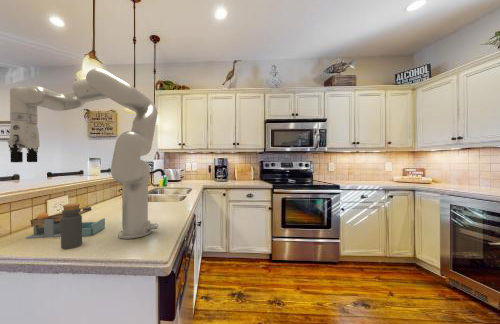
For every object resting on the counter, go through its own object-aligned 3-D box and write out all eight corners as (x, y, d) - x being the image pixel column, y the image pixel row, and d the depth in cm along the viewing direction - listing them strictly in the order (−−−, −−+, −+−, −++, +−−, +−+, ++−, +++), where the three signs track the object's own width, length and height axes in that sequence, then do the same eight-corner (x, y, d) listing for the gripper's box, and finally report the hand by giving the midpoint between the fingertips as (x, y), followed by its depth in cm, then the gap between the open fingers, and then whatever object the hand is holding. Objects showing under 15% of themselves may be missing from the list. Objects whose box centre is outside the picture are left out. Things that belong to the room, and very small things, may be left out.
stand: (81, 229, 95) (81, 213, 95) (67, 236, 86) (66, 219, 86) (44, 231, 92) (44, 215, 92) (26, 238, 84) (26, 220, 84)
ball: (51, 218, 90) (49, 210, 90) (44, 220, 87) (42, 212, 87) (42, 220, 90) (40, 212, 90) (35, 223, 86) (33, 214, 86)
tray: (104, 228, 97) (104, 218, 97) (92, 235, 87) (92, 224, 87) (82, 229, 95) (82, 219, 95) (67, 237, 85) (66, 225, 85)
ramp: (93, 212, 103) (92, 204, 103) (71, 222, 87) (69, 212, 87) (60, 219, 101) (58, 210, 100) (31, 229, 85) (29, 220, 85)
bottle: (69, 249, 73) (69, 206, 73) (56, 248, 74) (56, 205, 74) (86, 243, 79) (85, 203, 79) (73, 242, 80) (73, 202, 80)
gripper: (22, 116, 78) (23, 162, 78) (47, 123, 94) (48, 162, 94) (-6, 114, 75) (-5, 162, 76) (25, 122, 91) (26, 162, 92)
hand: (24, 162), depth 85 cm, fingers open, 9 cm apart
